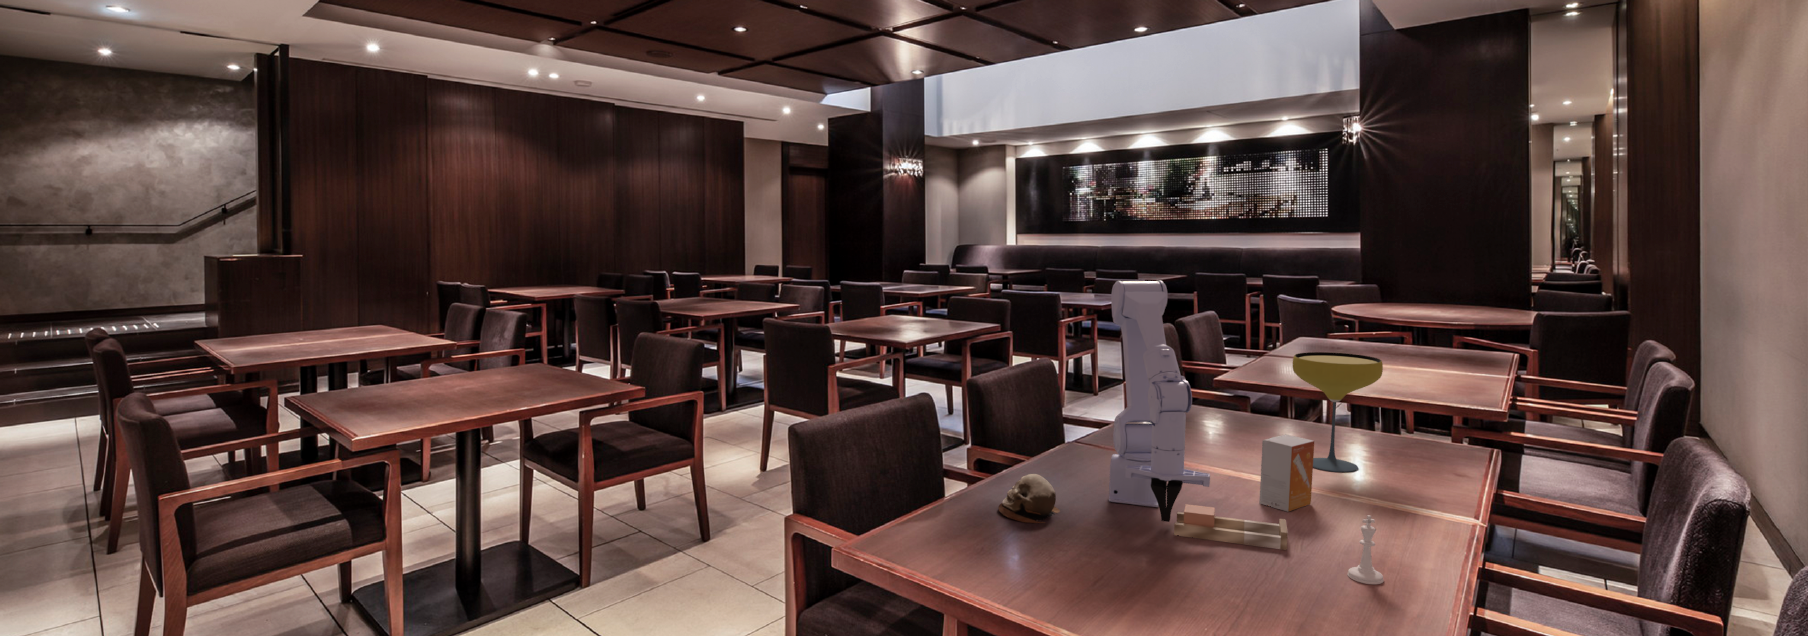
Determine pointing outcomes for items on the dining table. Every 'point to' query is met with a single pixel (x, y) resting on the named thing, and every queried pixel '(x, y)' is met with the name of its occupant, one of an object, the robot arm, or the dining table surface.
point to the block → (1199, 515)
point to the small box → (1286, 472)
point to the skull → (1030, 500)
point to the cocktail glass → (1336, 387)
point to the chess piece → (1366, 558)
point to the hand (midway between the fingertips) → (1165, 519)
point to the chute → (1237, 531)
